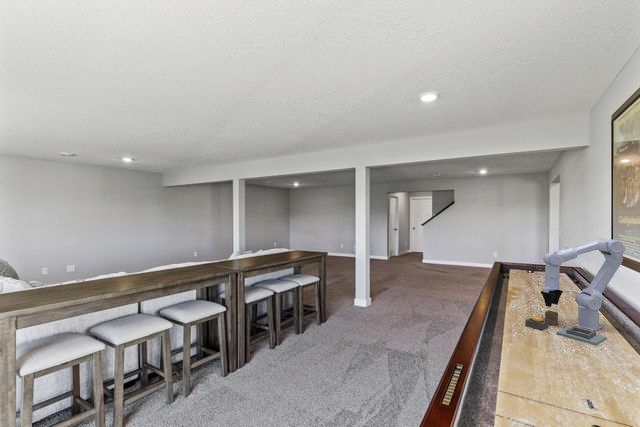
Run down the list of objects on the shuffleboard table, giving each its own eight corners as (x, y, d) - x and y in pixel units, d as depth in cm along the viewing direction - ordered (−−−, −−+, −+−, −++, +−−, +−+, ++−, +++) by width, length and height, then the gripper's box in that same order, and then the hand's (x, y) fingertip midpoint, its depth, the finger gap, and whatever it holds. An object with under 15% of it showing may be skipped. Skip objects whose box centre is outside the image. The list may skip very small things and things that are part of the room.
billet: (548, 322, 159) (548, 310, 159) (557, 324, 156) (558, 312, 156) (544, 323, 157) (545, 311, 157) (554, 326, 154) (554, 313, 154)
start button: (534, 319, 155) (534, 315, 155) (543, 322, 151) (543, 318, 151) (530, 321, 152) (530, 317, 152) (539, 323, 149) (539, 319, 149)
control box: (531, 323, 157) (532, 317, 157) (548, 327, 151) (548, 321, 151) (525, 326, 153) (525, 319, 153) (541, 330, 147) (542, 324, 147)
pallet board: (567, 328, 150) (567, 323, 150) (606, 339, 138) (606, 333, 138) (556, 334, 143) (556, 328, 143) (596, 345, 131) (596, 339, 131)
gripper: (549, 275, 164) (548, 301, 164) (536, 277, 156) (535, 305, 156) (565, 277, 158) (565, 304, 158) (553, 280, 150) (552, 309, 150)
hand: (551, 305), depth 156 cm, fingers open, 7 cm apart
